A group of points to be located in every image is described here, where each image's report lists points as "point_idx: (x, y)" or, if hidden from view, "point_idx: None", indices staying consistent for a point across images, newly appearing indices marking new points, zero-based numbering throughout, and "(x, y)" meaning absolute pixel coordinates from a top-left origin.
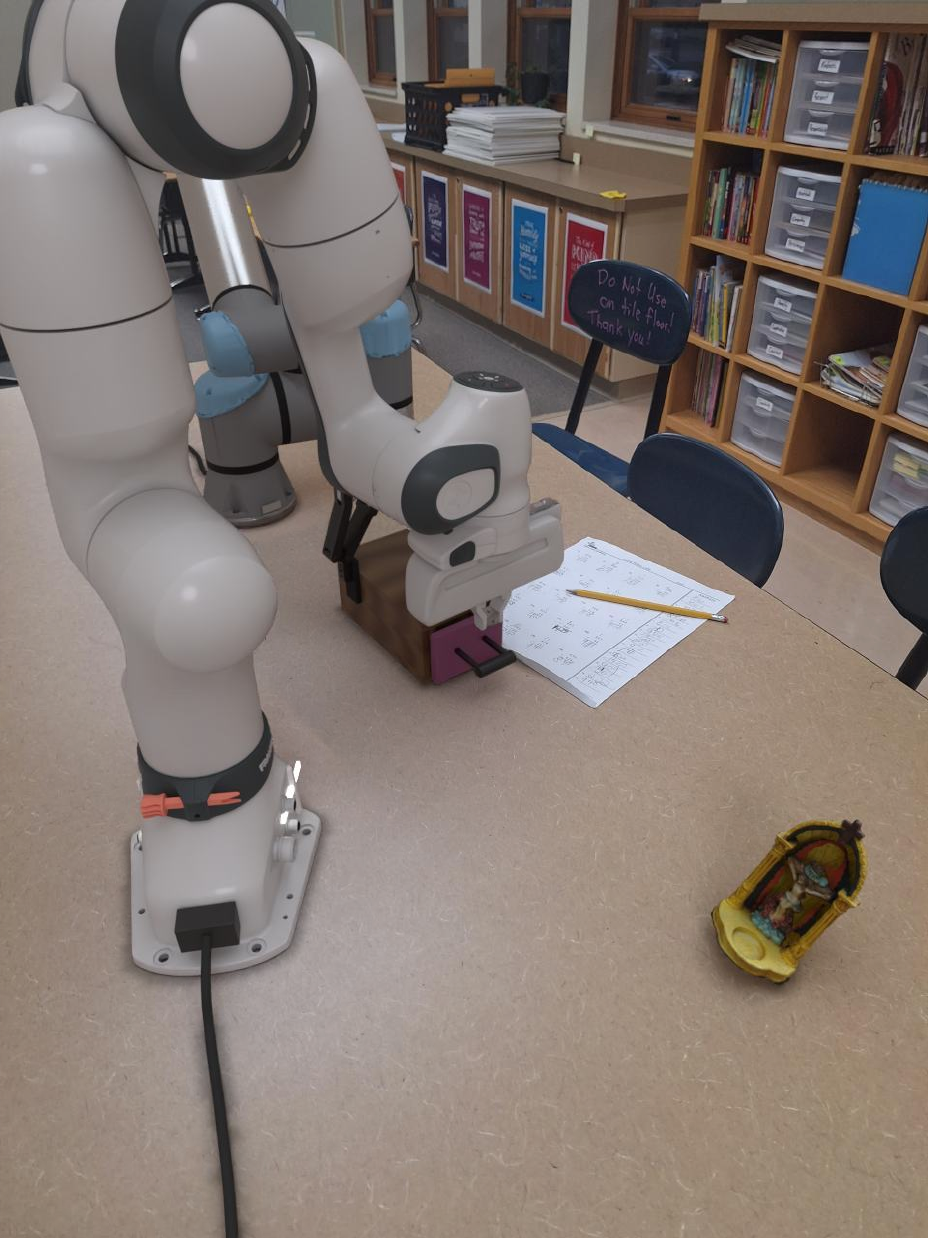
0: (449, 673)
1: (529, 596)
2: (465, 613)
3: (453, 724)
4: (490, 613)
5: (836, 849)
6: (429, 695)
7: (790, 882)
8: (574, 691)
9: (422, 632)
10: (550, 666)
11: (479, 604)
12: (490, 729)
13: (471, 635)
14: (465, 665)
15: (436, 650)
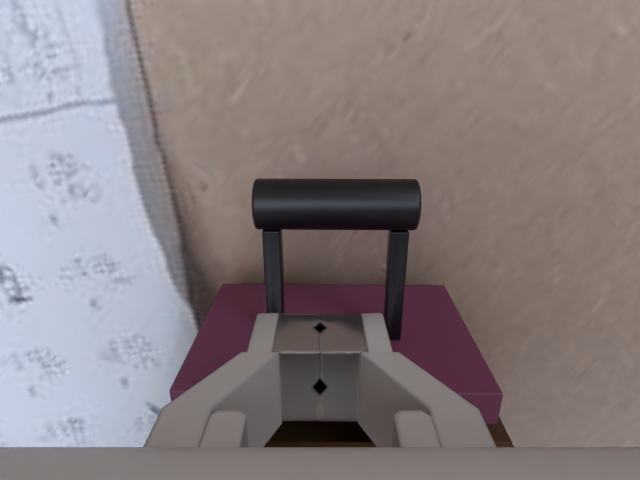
0: (406, 294)
1: (21, 419)
2: (312, 443)
3: (496, 147)
4: (321, 371)
5: None
6: (463, 274)
7: None
8: (119, 44)
9: (510, 443)
10: (121, 179)
11: (531, 449)
12: (434, 64)
13: None
14: (350, 294)
15: (481, 357)
